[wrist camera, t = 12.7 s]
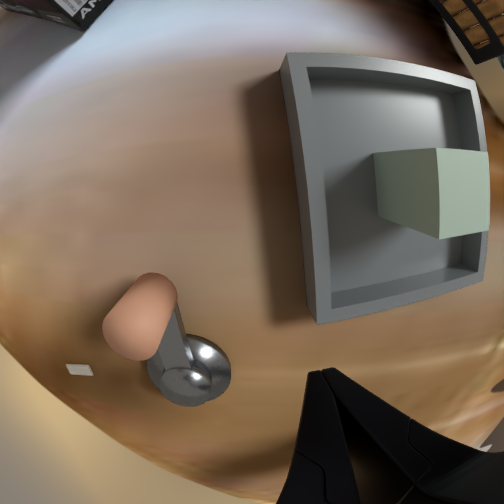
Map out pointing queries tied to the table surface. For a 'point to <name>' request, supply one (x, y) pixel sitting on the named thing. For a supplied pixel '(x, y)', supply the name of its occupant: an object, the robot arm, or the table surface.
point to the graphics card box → (59, 10)
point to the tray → (373, 179)
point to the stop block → (434, 190)
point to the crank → (158, 338)
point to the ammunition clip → (452, 3)
